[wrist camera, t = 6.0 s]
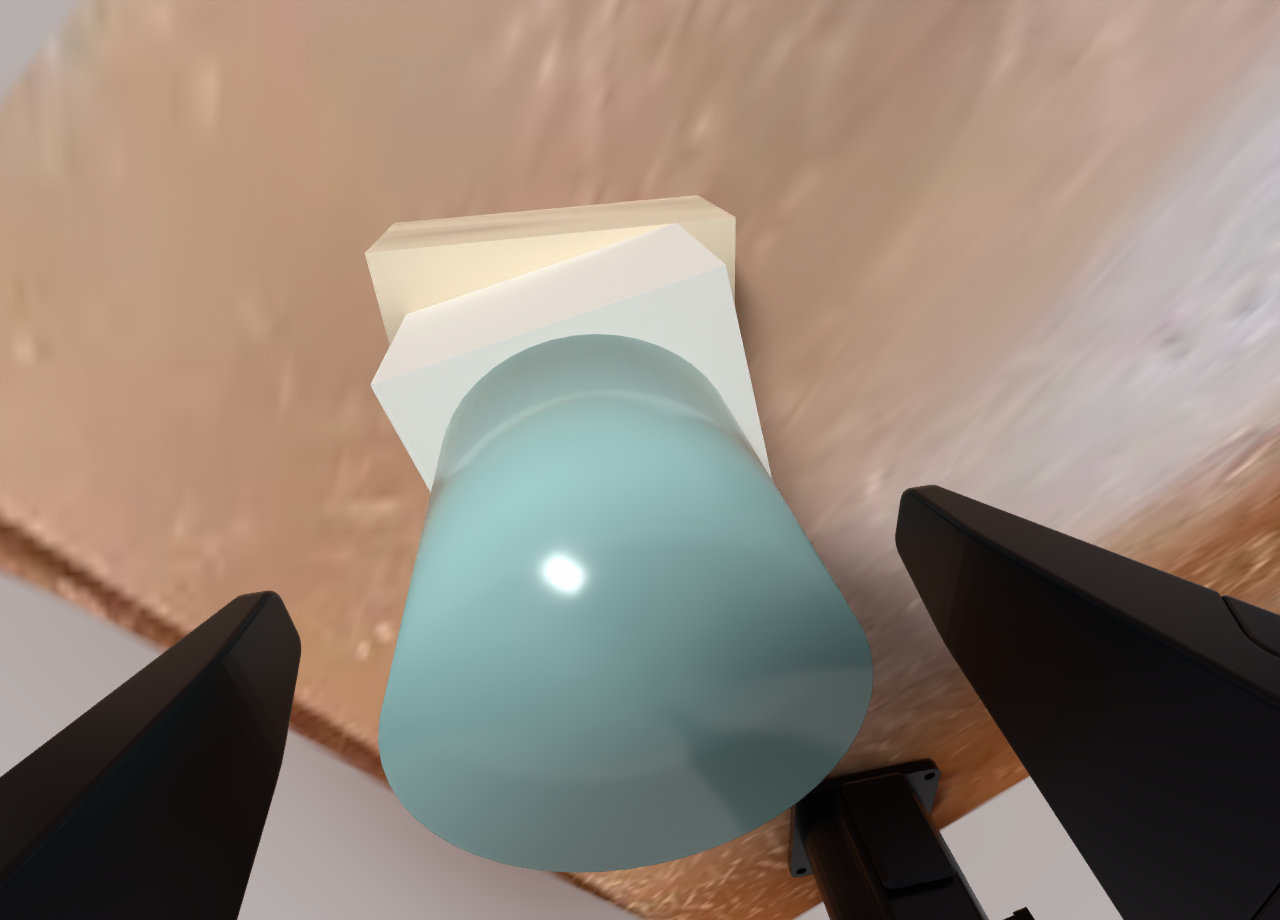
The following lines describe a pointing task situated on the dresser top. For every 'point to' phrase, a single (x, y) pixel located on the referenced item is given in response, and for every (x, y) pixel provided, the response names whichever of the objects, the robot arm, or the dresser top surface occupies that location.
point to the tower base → (521, 247)
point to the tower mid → (569, 331)
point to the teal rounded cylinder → (612, 623)
